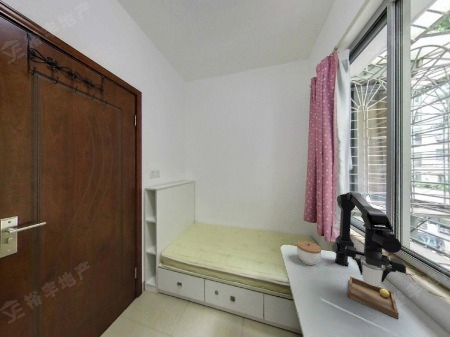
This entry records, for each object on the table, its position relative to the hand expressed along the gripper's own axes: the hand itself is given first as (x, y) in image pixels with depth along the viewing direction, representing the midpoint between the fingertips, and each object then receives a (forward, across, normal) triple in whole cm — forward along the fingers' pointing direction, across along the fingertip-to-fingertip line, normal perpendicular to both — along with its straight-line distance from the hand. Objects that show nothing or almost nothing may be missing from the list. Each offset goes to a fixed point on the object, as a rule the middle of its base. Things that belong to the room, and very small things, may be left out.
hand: (371, 278), depth 70 cm
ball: (+8, +5, +4) cm, 10 cm away
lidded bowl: (+9, -27, +12) cm, 31 cm away
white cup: (+2, 0, 0) cm, 2 cm away
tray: (+8, 0, 0) cm, 8 cm away
